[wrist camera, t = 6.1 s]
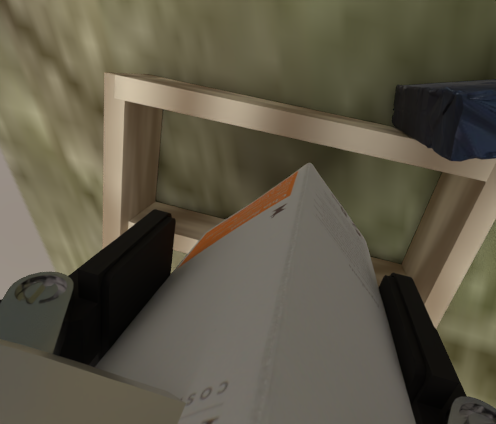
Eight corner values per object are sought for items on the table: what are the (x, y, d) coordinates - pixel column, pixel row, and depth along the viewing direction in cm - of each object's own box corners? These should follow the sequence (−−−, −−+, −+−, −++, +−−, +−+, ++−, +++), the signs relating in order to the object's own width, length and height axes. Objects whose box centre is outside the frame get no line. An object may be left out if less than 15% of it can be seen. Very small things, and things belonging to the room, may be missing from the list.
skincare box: (309, 156, 13) (252, 518, 2) (367, 239, 14) (553, 836, 3) (199, 231, 15) (-108, 599, 4) (254, 299, 16) (109, 763, 5)
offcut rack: (476, 144, 20) (525, 163, 15) (370, 370, 27) (381, 428, 23) (148, 74, 22) (104, 72, 17) (134, 301, 29) (101, 341, 25)
